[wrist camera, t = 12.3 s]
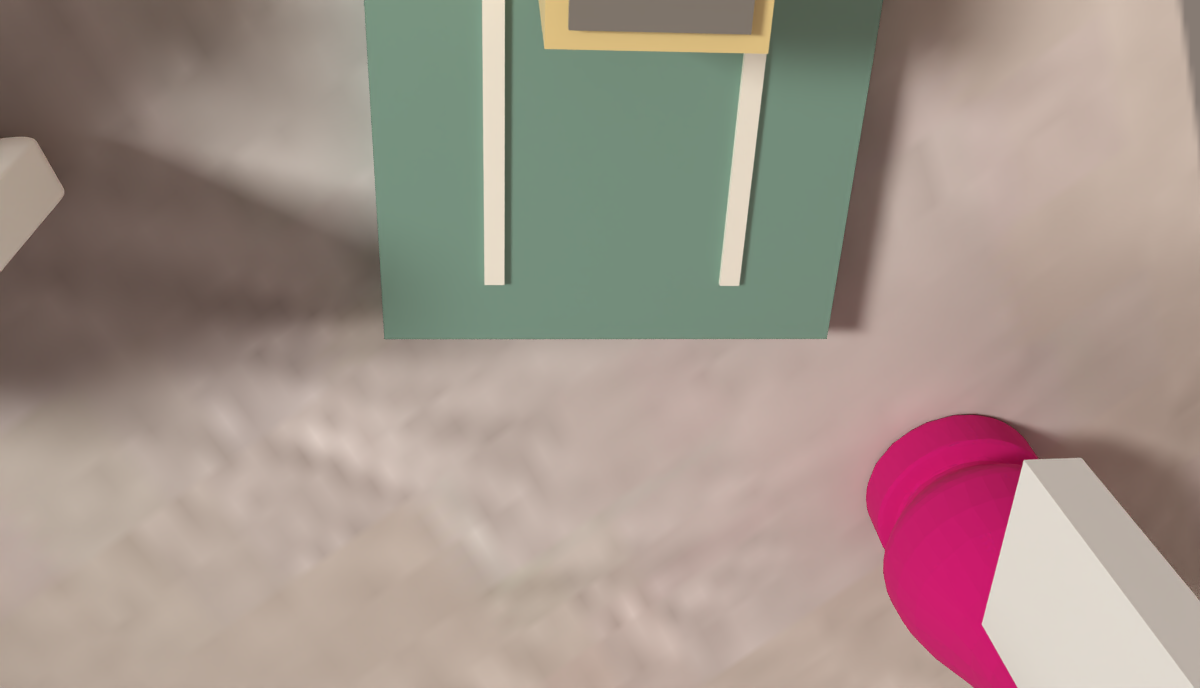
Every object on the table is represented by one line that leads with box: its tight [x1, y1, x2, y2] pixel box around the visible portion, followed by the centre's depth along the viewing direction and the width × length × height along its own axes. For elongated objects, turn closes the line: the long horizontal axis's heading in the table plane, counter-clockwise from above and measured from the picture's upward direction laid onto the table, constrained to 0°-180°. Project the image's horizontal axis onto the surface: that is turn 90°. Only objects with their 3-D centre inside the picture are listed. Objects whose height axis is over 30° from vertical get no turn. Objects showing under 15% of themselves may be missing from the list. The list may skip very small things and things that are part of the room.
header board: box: [364, 0, 883, 339], centre depth 28 cm, size 22×14×8 cm, turn 177°
